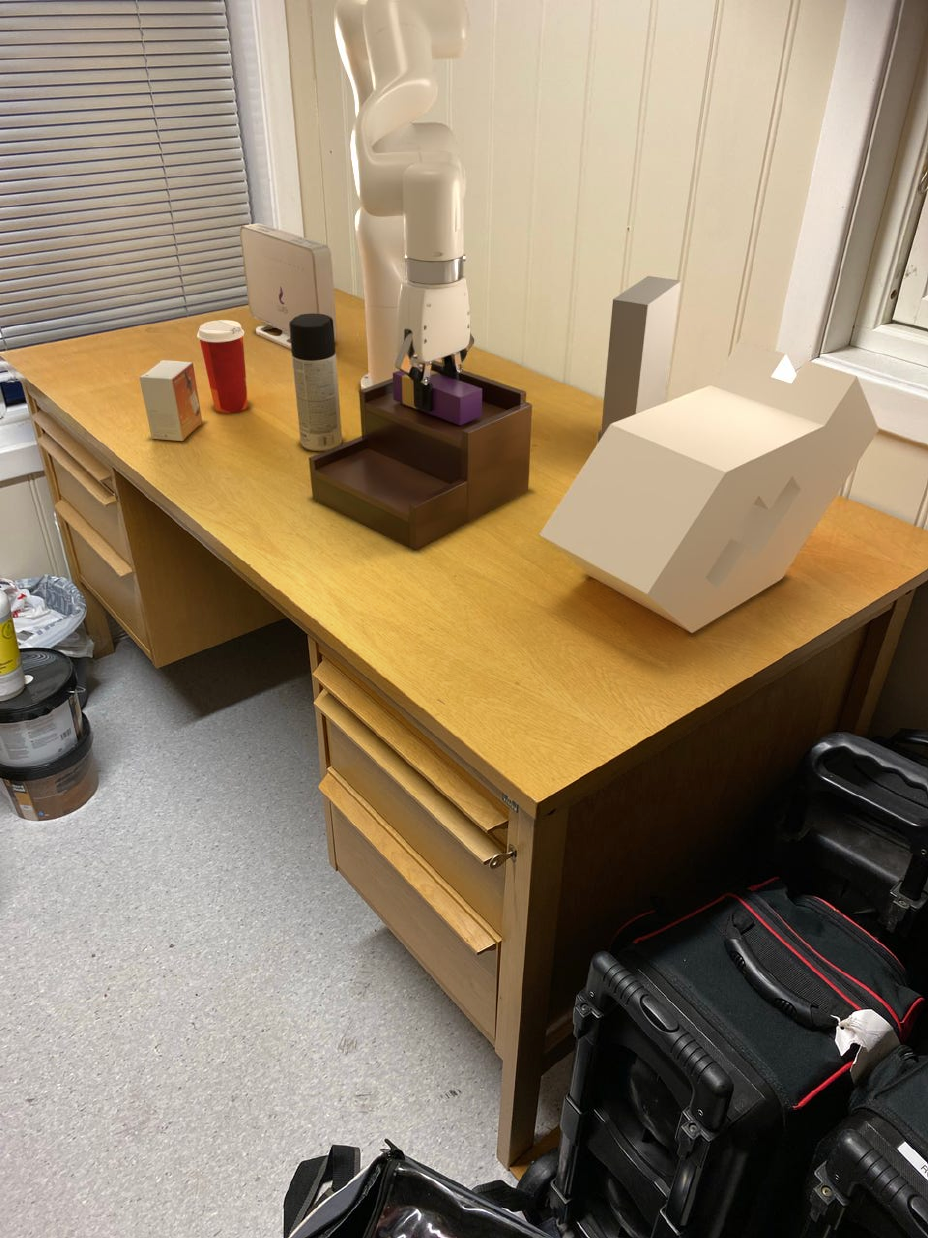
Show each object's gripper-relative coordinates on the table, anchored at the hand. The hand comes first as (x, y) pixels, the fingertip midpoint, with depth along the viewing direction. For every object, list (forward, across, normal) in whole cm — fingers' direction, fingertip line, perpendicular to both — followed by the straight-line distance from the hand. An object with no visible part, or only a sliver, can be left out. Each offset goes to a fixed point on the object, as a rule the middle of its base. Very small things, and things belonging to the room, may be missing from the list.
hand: (436, 402), depth 134 cm
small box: (+13, +15, -45) cm, 49 cm away
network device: (+13, -27, -67) cm, 74 cm away
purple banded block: (+1, 0, 0) cm, 1 cm away
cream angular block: (+14, -7, +40) cm, 43 cm away
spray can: (+13, +2, -24) cm, 28 cm away
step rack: (+13, +3, 0) cm, 14 cm away
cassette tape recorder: (+13, -30, +13) cm, 35 cm away
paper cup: (+13, +3, -47) cm, 49 cm away
